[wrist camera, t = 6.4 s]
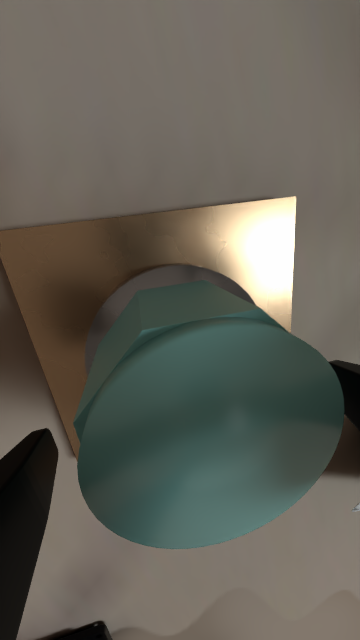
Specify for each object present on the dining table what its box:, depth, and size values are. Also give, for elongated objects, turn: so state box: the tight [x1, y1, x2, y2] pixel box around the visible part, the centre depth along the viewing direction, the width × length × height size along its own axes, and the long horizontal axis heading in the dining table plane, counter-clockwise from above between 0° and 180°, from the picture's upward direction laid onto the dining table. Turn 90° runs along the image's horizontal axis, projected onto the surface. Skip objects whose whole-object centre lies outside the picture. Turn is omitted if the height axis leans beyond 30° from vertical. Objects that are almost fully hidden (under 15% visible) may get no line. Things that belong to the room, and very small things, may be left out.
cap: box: [73, 280, 344, 549], centre depth 8 cm, size 6×6×5 cm
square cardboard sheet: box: [0, 196, 296, 462], centre depth 10 cm, size 12×12×5 cm
